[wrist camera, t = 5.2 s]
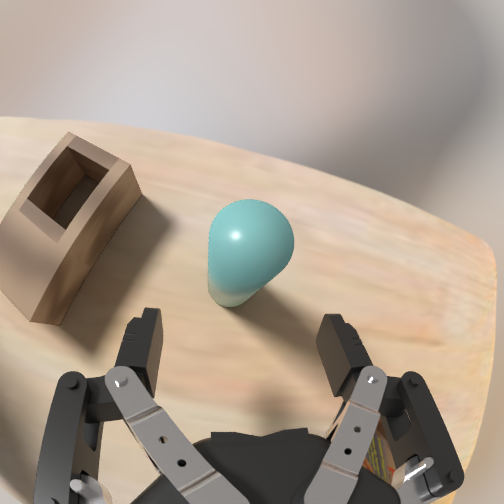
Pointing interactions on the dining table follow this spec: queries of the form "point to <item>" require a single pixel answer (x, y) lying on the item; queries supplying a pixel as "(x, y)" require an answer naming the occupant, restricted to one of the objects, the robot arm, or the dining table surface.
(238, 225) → the peg
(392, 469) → the tin
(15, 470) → the dining table surface
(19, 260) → the socket
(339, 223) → the dining table surface
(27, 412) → the dining table surface
